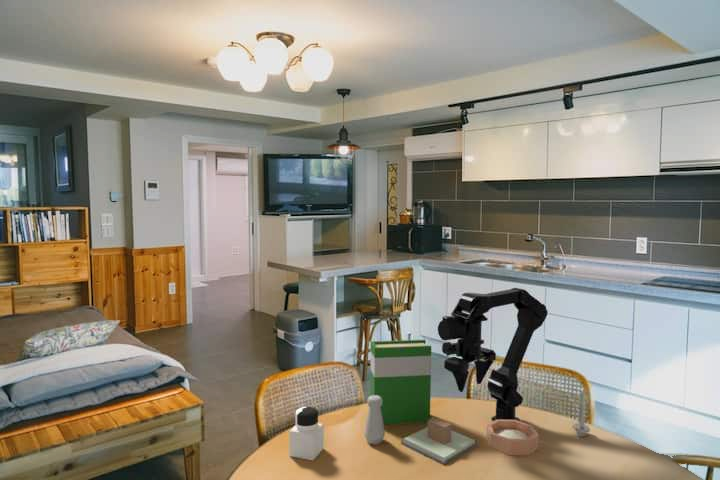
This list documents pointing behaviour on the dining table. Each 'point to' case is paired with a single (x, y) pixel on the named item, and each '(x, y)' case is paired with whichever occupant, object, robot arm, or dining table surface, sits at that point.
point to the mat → (435, 457)
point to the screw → (581, 418)
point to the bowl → (512, 437)
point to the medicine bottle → (306, 435)
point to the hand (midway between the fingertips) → (469, 387)
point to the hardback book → (401, 380)
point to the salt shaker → (374, 421)
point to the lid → (439, 440)
